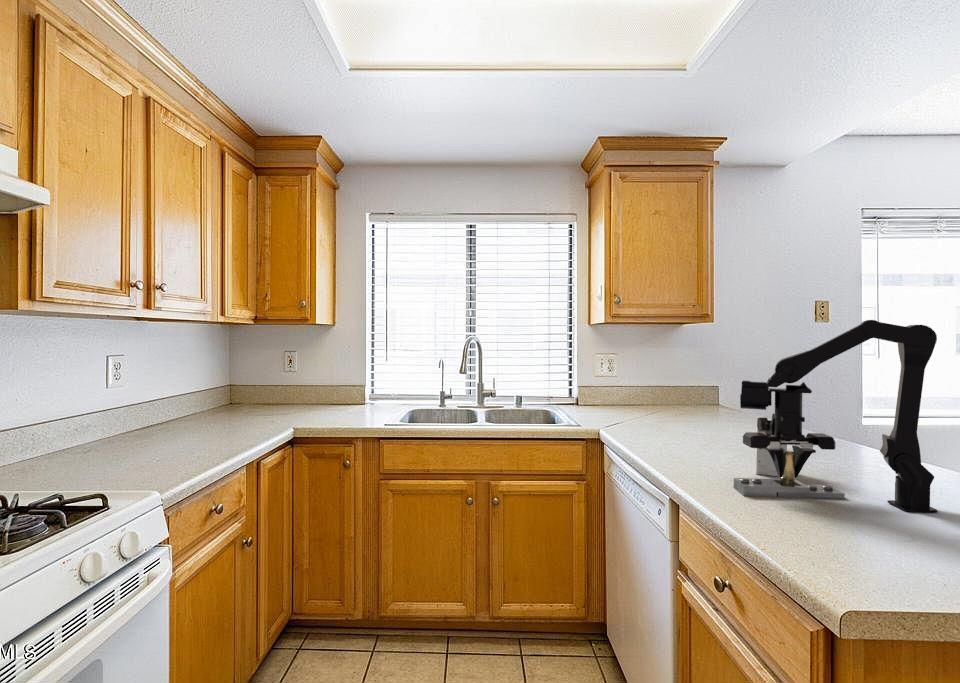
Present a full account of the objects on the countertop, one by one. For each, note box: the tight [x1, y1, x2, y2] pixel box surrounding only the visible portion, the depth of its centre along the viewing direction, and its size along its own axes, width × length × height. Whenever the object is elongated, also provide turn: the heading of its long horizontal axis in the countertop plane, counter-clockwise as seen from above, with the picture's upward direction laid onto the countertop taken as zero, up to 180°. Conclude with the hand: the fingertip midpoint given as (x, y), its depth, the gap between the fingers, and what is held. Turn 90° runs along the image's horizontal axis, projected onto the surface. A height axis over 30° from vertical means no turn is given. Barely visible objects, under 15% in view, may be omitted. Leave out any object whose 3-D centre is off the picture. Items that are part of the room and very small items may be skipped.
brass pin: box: [779, 450, 796, 486], centre depth 133 cm, size 3×3×8 cm
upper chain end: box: [733, 477, 810, 498], centre depth 134 cm, size 7×14×3 cm, turn 85°
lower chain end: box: [776, 484, 846, 500], centre depth 133 cm, size 7×14×2 cm, turn 85°
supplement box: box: [755, 428, 788, 477], centre depth 152 cm, size 7×7×13 cm
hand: (787, 477), depth 133 cm, fingers closed on brass pin, 3 cm apart
